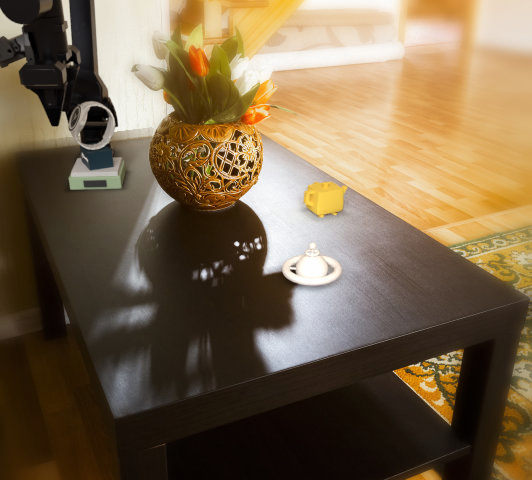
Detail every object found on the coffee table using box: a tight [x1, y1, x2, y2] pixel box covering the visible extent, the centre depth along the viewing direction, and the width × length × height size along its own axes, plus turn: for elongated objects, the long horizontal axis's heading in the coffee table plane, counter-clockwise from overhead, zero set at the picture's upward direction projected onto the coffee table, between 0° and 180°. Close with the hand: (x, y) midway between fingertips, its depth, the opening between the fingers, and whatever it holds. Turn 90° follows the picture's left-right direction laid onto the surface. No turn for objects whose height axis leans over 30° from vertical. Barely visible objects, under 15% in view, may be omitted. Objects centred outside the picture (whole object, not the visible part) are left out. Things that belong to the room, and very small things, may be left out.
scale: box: [68, 156, 127, 191], centre depth 116 cm, size 9×9×3 cm
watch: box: [67, 101, 116, 171], centre depth 112 cm, size 6×8×11 cm
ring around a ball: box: [281, 242, 343, 287], centre depth 83 cm, size 8×6×8 cm
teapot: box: [302, 181, 348, 218], centre depth 104 cm, size 8×6×5 cm
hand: (60, 118), depth 104 cm, fingers open, 9 cm apart
